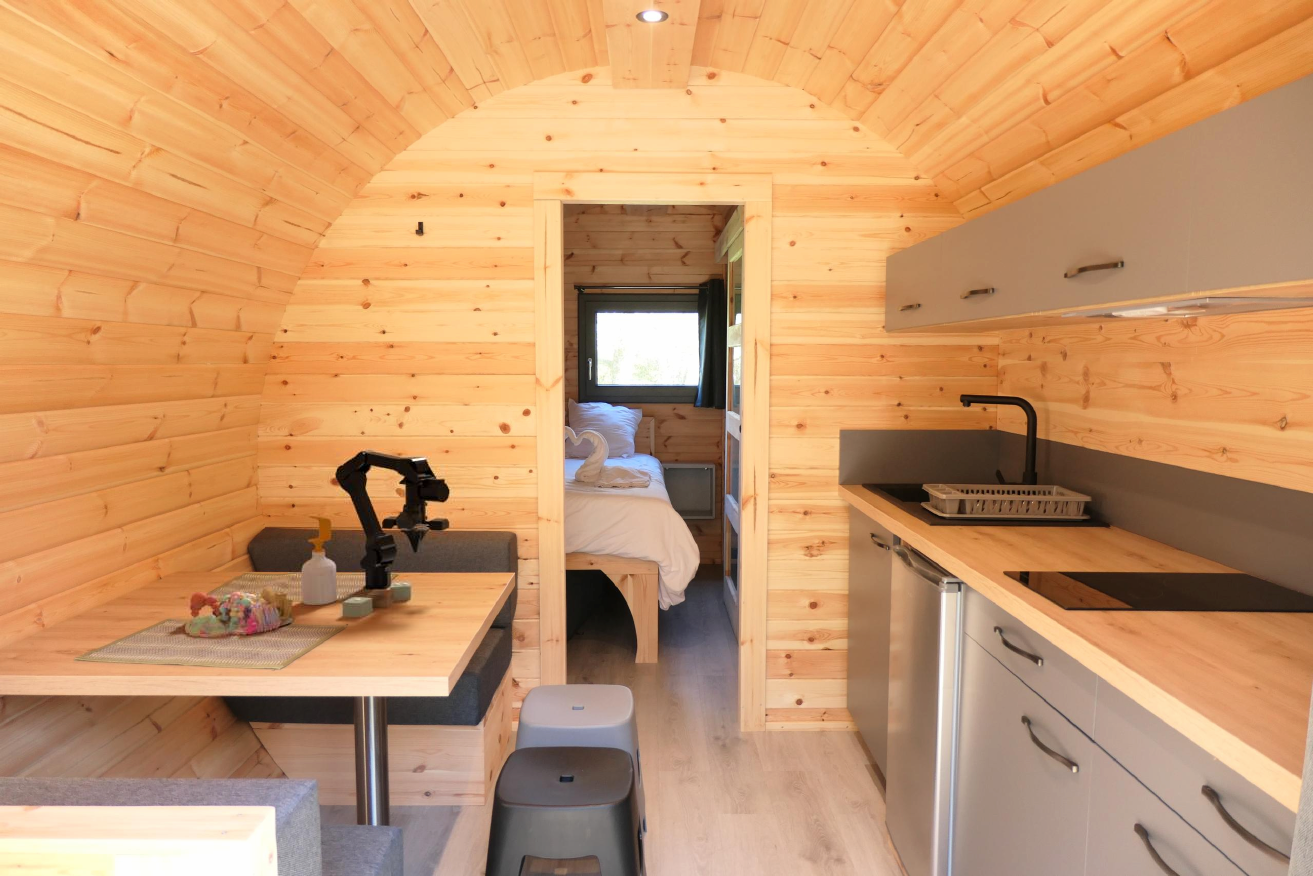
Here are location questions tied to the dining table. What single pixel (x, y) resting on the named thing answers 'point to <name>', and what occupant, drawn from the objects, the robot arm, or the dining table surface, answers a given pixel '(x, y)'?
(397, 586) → the dotted block two
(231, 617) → the colorful coral reef ornament
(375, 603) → the walnut block
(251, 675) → the dining table surface
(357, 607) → the grey-green block
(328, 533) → the soap bottle
